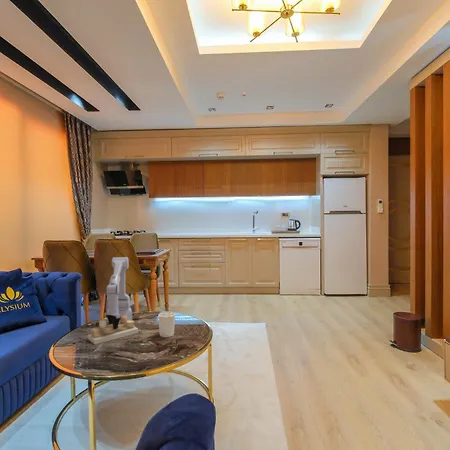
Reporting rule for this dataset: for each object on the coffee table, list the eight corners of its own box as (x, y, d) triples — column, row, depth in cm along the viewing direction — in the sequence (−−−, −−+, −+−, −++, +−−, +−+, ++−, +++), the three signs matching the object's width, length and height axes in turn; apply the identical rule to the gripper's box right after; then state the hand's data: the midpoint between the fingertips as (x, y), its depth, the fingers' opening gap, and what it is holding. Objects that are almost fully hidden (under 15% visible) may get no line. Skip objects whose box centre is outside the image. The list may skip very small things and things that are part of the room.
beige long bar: (131, 325, 197) (131, 319, 197) (134, 327, 193) (134, 321, 193) (91, 334, 181) (91, 328, 181) (94, 337, 177) (94, 331, 177)
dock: (130, 328, 200) (130, 323, 200) (138, 332, 191) (138, 328, 191) (87, 338, 182) (87, 334, 182) (94, 344, 174) (94, 339, 174)
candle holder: (177, 331, 192) (176, 312, 192) (172, 337, 182) (172, 317, 182) (161, 331, 193) (161, 311, 193) (156, 337, 183) (155, 317, 183)
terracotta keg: (125, 321, 194) (125, 314, 194) (128, 322, 191) (128, 316, 191) (118, 322, 191) (118, 316, 191) (121, 324, 188) (121, 317, 188)
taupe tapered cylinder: (105, 325, 186) (105, 319, 186) (107, 327, 183) (107, 320, 183) (98, 327, 183) (98, 320, 183) (101, 329, 180) (100, 322, 180)
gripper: (101, 303, 189) (102, 326, 190) (111, 308, 178) (111, 332, 179) (113, 301, 194) (113, 323, 194) (123, 306, 183) (123, 329, 183)
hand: (113, 327), depth 187 cm, fingers closed on beige long bar, 5 cm apart
